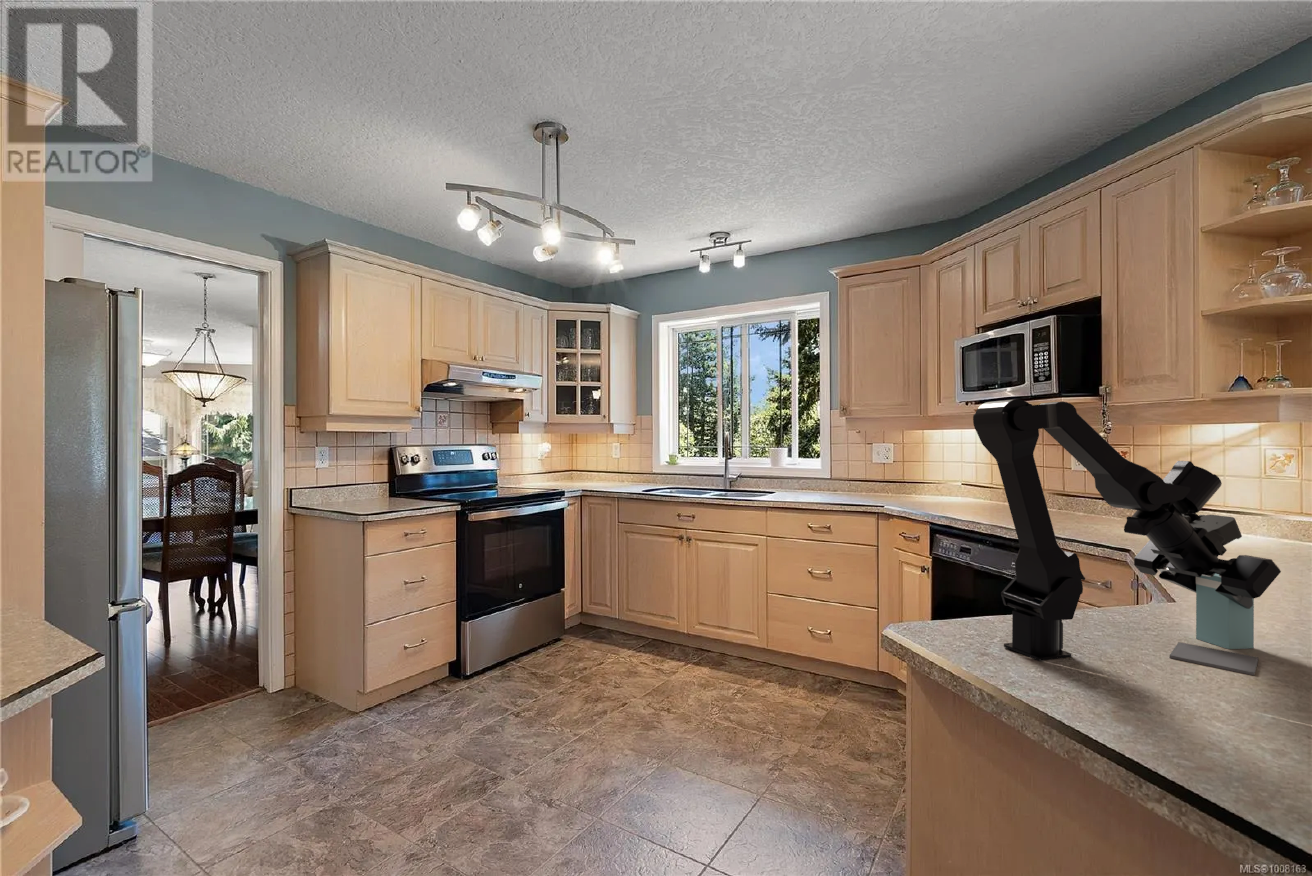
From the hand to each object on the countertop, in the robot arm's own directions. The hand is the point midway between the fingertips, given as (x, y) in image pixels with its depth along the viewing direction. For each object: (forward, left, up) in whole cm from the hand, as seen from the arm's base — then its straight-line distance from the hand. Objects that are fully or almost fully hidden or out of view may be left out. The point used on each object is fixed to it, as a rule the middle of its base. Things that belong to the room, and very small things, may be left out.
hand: (1231, 602), depth 97 cm
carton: (-1, 0, -7) cm, 7 cm away
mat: (-11, -4, -7) cm, 14 cm away
